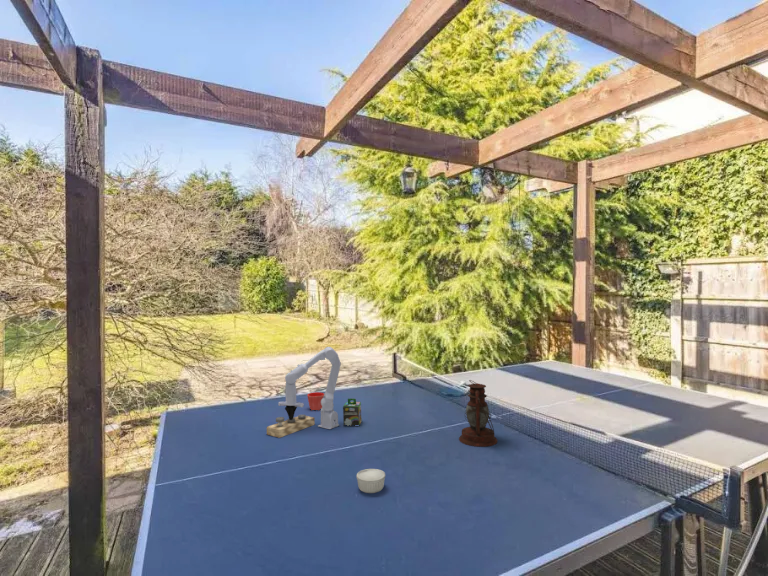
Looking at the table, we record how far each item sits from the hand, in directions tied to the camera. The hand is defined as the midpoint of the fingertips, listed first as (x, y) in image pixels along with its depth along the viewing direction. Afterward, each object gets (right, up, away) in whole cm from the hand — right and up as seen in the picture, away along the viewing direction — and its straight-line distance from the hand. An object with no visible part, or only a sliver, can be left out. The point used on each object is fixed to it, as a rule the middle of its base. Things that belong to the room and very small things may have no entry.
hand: (291, 419), depth 236 cm
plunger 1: (-5, -3, -7) cm, 8 cm away
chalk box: (+33, -5, +8) cm, 35 cm away
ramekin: (+46, -5, -72) cm, 85 cm away
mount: (0, -6, 0) cm, 6 cm away
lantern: (+99, -4, -22) cm, 101 cm away
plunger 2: (0, -6, 0) cm, 6 cm away
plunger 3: (+5, -6, +7) cm, 10 cm away
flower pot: (+7, -6, +40) cm, 41 cm away
